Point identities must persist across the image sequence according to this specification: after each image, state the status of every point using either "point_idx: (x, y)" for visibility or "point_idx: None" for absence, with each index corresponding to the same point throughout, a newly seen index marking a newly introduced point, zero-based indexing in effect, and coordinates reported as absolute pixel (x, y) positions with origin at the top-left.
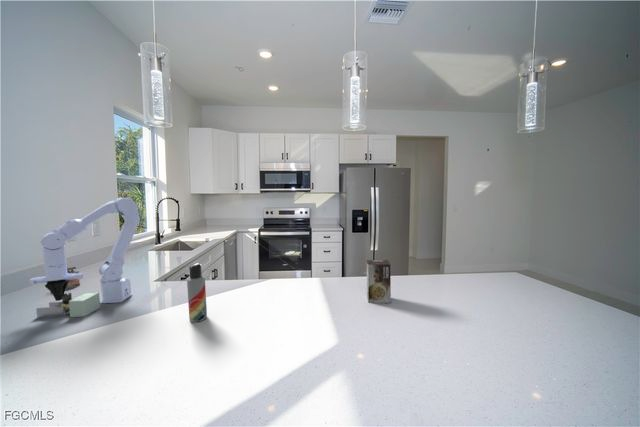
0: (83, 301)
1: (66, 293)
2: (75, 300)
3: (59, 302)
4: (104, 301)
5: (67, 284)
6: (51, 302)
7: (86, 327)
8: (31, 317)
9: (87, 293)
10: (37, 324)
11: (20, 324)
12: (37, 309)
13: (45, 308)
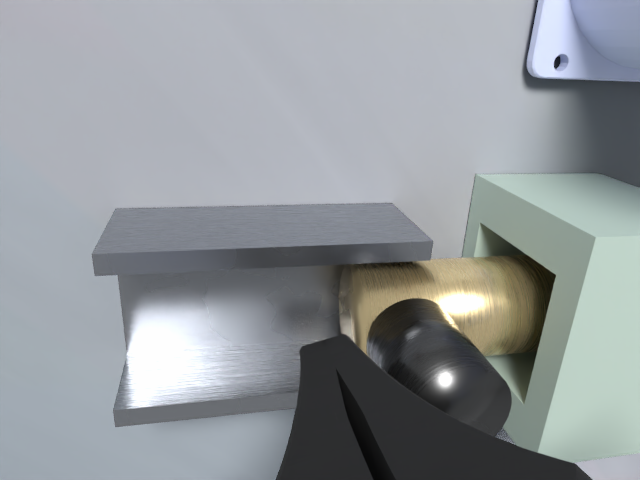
0: None
1: (438, 390)
2: (590, 445)
3: (245, 267)
4: (613, 61)
5: (496, 439)
6: (121, 262)
7: (635, 472)
8: (51, 345)
9: (626, 246)
10: (269, 452)
11: (109, 456)
12: (132, 418)
13: (224, 411)
